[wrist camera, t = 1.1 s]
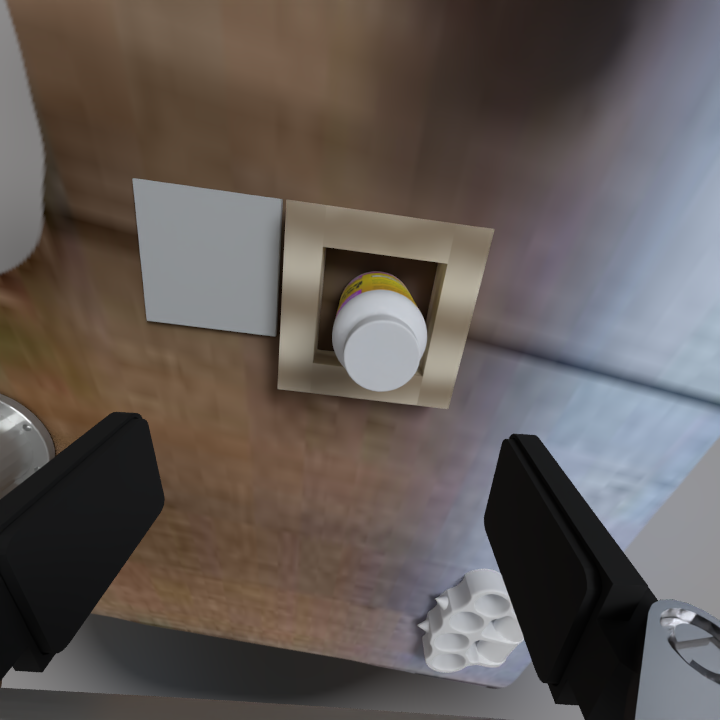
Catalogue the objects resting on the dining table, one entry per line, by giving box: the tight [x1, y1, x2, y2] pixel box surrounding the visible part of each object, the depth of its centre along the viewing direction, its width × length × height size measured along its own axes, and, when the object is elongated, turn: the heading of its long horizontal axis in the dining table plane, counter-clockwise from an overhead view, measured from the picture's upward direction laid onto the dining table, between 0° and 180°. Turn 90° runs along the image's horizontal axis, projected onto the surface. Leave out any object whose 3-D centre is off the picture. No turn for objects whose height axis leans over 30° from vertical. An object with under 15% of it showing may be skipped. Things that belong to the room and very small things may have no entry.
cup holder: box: [278, 200, 495, 409], centre depth 31 cm, size 16×16×4 cm
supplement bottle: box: [332, 271, 427, 392], centre depth 27 cm, size 7×7×13 cm
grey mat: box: [133, 178, 283, 337], centre depth 31 cm, size 12×12×1 cm
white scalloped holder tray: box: [417, 569, 524, 673], centre depth 49 cm, size 3×18×15 cm
